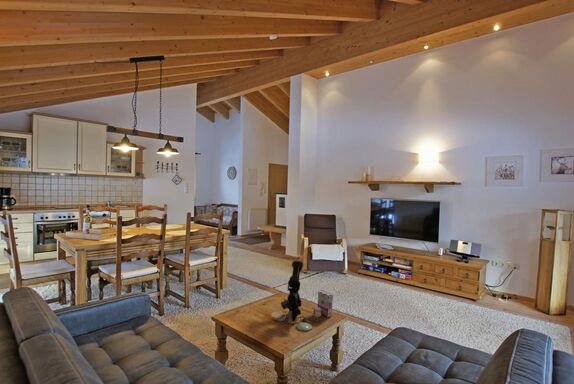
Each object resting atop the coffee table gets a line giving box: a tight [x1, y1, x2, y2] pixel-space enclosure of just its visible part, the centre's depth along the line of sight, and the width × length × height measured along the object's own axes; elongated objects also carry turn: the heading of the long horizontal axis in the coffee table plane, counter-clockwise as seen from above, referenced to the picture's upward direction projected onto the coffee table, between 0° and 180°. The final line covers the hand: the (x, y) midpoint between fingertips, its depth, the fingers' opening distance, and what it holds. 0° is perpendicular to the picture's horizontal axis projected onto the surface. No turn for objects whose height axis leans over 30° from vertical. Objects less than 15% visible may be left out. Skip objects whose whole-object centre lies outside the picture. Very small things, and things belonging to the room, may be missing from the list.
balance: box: [287, 313, 322, 325], centre depth 211 cm, size 24×6×5 cm, turn 104°
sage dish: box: [296, 322, 312, 332], centre depth 202 cm, size 10×10×1 cm
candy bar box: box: [317, 289, 334, 318], centre depth 224 cm, size 11×5×16 cm, turn 37°
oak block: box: [312, 306, 322, 316], centre depth 213 cm, size 4×4×4 cm
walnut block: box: [287, 311, 298, 323], centre depth 209 cm, size 5×5×5 cm
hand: (292, 319), depth 209 cm, fingers closed on walnut block, 5 cm apart
